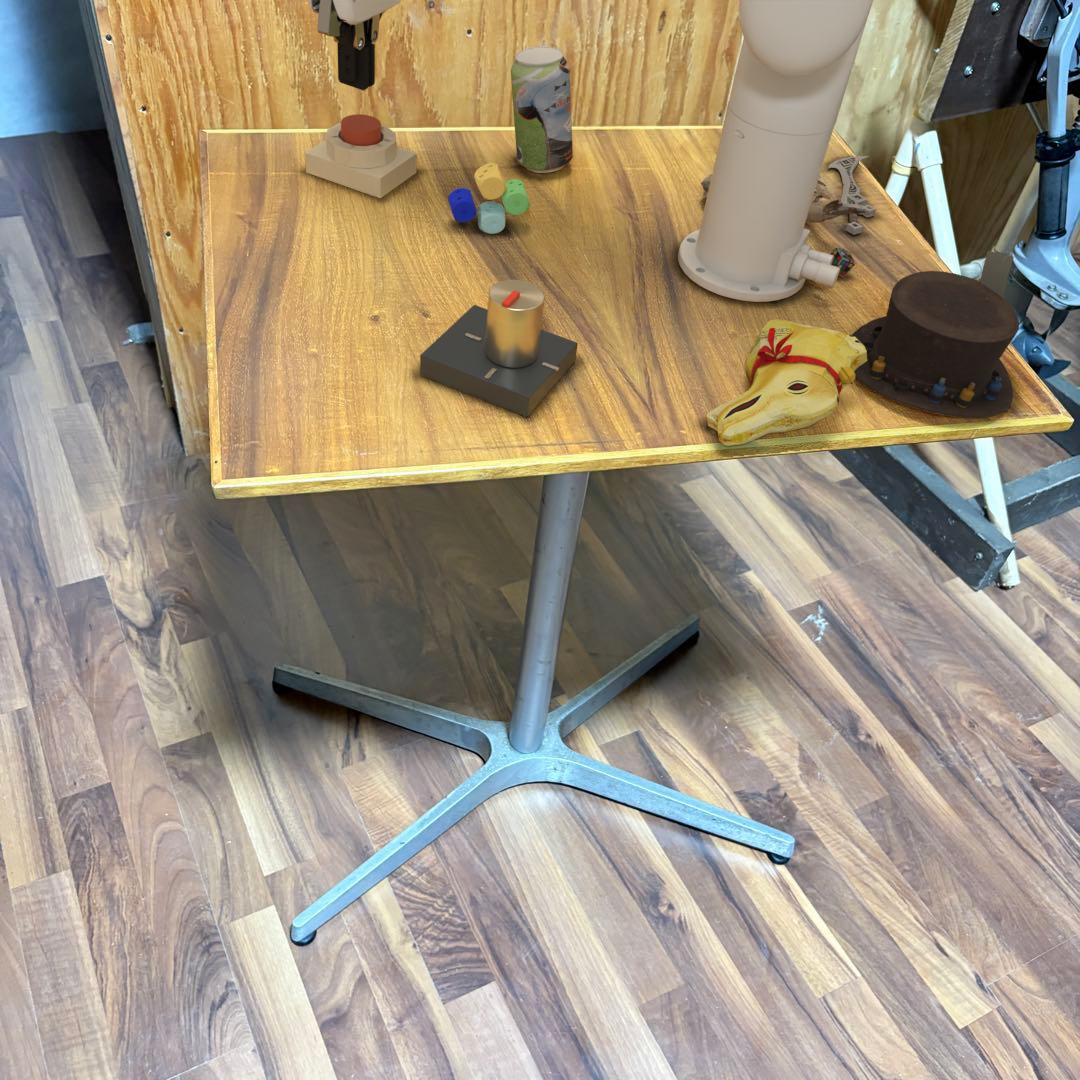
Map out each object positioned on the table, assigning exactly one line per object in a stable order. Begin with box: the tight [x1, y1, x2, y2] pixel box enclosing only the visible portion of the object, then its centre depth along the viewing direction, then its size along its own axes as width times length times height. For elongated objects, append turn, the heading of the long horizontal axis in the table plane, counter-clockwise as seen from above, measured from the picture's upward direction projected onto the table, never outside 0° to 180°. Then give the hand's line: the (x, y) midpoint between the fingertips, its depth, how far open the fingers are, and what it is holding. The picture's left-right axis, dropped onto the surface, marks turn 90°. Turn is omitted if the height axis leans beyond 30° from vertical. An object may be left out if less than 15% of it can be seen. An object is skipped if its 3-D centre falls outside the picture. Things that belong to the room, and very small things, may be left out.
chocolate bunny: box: [706, 318, 867, 447], centre depth 86 cm, size 7×11×15 cm
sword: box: [827, 155, 877, 236], centre depth 119 cm, size 20×1×5 cm
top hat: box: [851, 250, 1020, 419], centre depth 91 cm, size 15×15×10 cm
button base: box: [304, 122, 418, 199], centre depth 110 cm, size 9×7×4 cm
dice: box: [447, 162, 531, 235], centre depth 103 cm, size 8×3×6 cm, turn 100°
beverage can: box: [510, 45, 574, 174], centre depth 112 cm, size 6×7×12 cm
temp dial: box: [485, 279, 546, 368], centre depth 86 cm, size 4×4×6 cm
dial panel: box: [419, 304, 578, 418], centre depth 89 cm, size 10×9×2 cm
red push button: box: [340, 113, 382, 146], centre depth 108 cm, size 4×4×2 cm
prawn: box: [805, 175, 866, 278], centre depth 111 cm, size 25×12×7 cm, turn 12°
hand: (356, 83), depth 105 cm, fingers closed
